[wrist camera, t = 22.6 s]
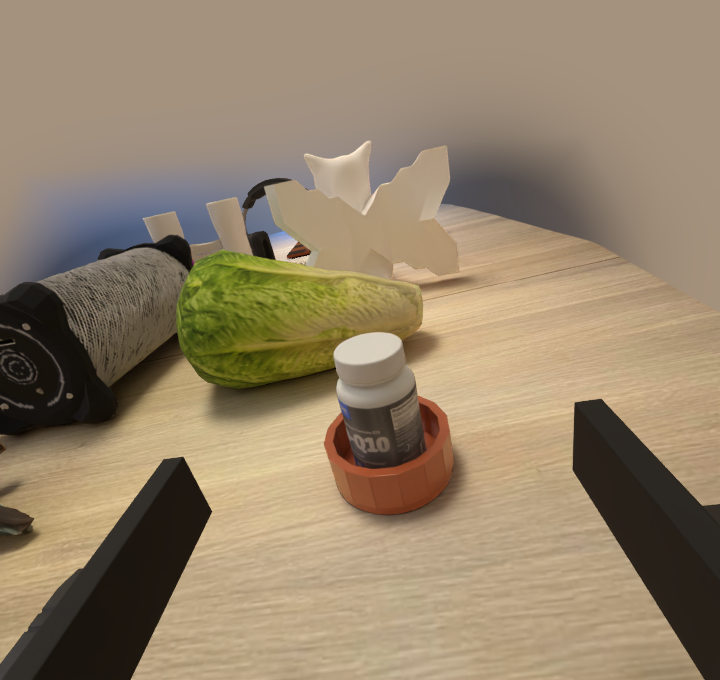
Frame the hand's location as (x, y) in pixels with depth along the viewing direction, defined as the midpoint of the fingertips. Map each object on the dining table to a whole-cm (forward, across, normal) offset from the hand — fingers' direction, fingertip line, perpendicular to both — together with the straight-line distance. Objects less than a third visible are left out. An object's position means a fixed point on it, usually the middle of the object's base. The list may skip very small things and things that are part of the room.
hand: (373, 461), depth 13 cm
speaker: (+33, -36, -9) cm, 50 cm away
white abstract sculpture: (+48, -4, -9) cm, 49 cm away
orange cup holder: (+9, -1, -9) cm, 13 cm away
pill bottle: (+9, -1, -9) cm, 13 cm away
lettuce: (+26, -8, -9) cm, 29 cm away
